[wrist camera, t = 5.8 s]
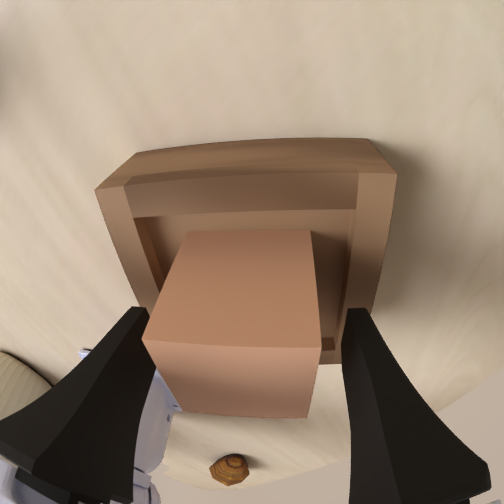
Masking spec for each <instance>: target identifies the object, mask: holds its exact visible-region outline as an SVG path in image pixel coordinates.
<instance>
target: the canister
mask: <svg viewBox="0 0 504 504" xmlns="http://www.w3.org/2000/svg"><path fill="white" fill-rule="evenodd" d="M51 388H52V386H50V384H49V383H48V382H46V380H44V379H43V378H42V377H41V376H40V375H38V374H37V373H36V372H35V371H33V370H32V369H31V368H29V367H28V366H27V365H25V364H23V363H22V362H20V361H19V360H17V359H15V358H14V357H12V356H10V355H8V354H5V353H2V352H0V420H2V419H4V418H6V417H8V416H9V415H11V414H13V413H15V412H17V411H19V410H21V409H22V408H24V407H25V406H27V405H29V404H30V403H32V402H33V401H35V400H36V399H38V398H39V397H40V396H42V395H43V394H44V393H46V392H47V391H48V390H50V389H51ZM0 457H1V458H2V459H4V460H6V461H8V462H9V463H11V464H12V465H14V466H16V467H17V468H18V466H17V465H15V464H13V463H12V462H10V461H9V460H7V459H6V458H4V457H3V456H1V455H0Z"/></svg>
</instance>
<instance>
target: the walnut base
mask: <svg viewBox="0 0 504 504" xmlns="http://www.w3.org/2000/svg"><path fill="white" fill-rule="evenodd" d="M396 181H397V173H396V172H395V170H394V169H393V168H392V167H391V165H390V164H389V163H388V162H387V161H386V160H385V158H384V157H383V156H382V155H381V154H380V153H379V151H378V150H377V149H376V148H375V147H374V146H373V145H372V143H371V142H370V141H369V140H368V139H361V138H283V139H260V140H244V141H230V142H218V143H208V144H198V145H189V146H181V147H173V148H165V149H158V150H151V151H145V152H139V153H136V154H134V155H133V156H132V157H131V158H130V159H128V160H127V161H126V162H125V163H124V164H123V165H121V166H120V167H119V168H118V169H117V170H116V171H115V172H113V173H112V174H111V175H110V176H109V177H108V178H107V179H106V180H105V181H103V182H102V183H101V184H100V185H99V186H98V187H97V188H96V189H95V190H94V191H95V194H96V197H97V200H98V203H99V206H100V209H101V212H102V214H103V217H104V220H105V223H106V226H107V228H108V231H109V234H110V236H111V239H112V242H113V244H114V247H115V249H116V252H117V254H118V257H119V259H120V262H121V264H122V267H123V269H124V271H125V274H126V276H127V278H128V281H129V283H130V285H131V288H132V290H133V292H134V294H135V296H136V299H137V301H138V303H139V305H140V307H146V309H147V311H148V313H149V315H150V316H151V314H152V311H153V309H154V306H155V304H156V302H157V299H158V297H159V294H160V292H161V290H162V287H163V285H164V283H165V280H166V278H167V276H168V273H169V271H170V269H171V266H172V264H173V262H174V260H175V257H176V255H177V253H178V251H179V248H180V246H181V244H182V242H183V240H184V237H185V235H186V233H187V232H194V231H274V230H310V234H311V242H312V250H313V259H314V268H315V277H316V287H317V297H318V308H319V319H320V332H321V345H322V348H321V354H320V359H319V364H318V365H323V364H342V360H341V340H342V335H343V330H344V325H345V320H346V315H347V310H348V308H366V309H367V310H368V312H369V314H371V310H372V306H373V303H374V299H375V294H376V290H377V286H378V282H379V278H380V273H381V268H382V264H383V259H384V254H385V249H386V244H387V239H388V233H389V228H390V222H391V216H392V209H393V203H394V196H395V188H396Z"/></svg>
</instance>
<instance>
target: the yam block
mask: <svg viewBox="0 0 504 504" xmlns="http://www.w3.org/2000/svg"><path fill="white" fill-rule="evenodd" d="M142 341H143V343H144V345H145V347H146V349H147V351H148V352H149V354H150V356H151V358H152V360H153V361H154V363H155V365H156V367H157V369H158V370H159V372H160V374H161V376H162V377H163V379H164V381H165V382H166V384H167V386H168V387H169V389H170V391H171V392H172V394H173V396H174V397H175V399H176V401H177V402H178V404H179V405H180V407H181V409H182V410H183V411H189V412H197V413H205V414H215V415H226V416H240V417H258V418H307V416H308V412H309V407H310V403H311V398H312V394H313V389H314V384H315V379H316V374H317V369H318V364H319V359H320V354H321V348H322V345H321V332H320V319H319V308H318V297H317V287H316V277H315V268H314V259H313V250H312V242H311V234H310V230H274V231H194V232H187V233H186V235H185V237H184V240H183V242H182V244H181V246H180V248H179V251H178V253H177V255H176V257H175V260H174V262H173V264H172V266H171V269H170V271H169V273H168V276H167V278H166V280H165V283H164V285H163V287H162V290H161V292H160V294H159V297H158V299H157V302H156V304H155V306H154V309H153V311H152V314H151V316H150V319H149V321H148V324H147V326H146V329H145V331H144V334H143V336H142Z"/></svg>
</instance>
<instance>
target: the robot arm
mask: <svg viewBox="0 0 504 504" xmlns="http://www.w3.org/2000/svg"><path fill="white" fill-rule="evenodd" d="M149 319H150V315H149V313H148V311H147V309H146V307H133V306H132V307H131V308H130V309H129V310H128V311H127V312H126V313H125V314H124V315H123V316H122V317H121V319H120V320H119V321H118V322H117V323H116V324H115V325H114V326H113V328H112V329H111V330H110V331H109V332H108V333H107V334H106V335H105V336H104V338H103V339H102V340H101V341H100V342H99V343H98V344H97V345H96V346H95V348H94V349H93V350H92V351H87V350H80V351H79V353H78V354H79V356H80V357H81V358H82V359H83V360H82V361H81V362H80V363H79V364H78V365H77V366H76V367H75V368H74V369H73V370H72V371H71V372H70V373H69V374H68V375H66V376H65V377H64V378H63V379H62V380H61V381H60V382H58V383H57V384H56V385H55V386H53V387H52V388H51V389H50V390H48V391H47V392H46V393H44V394H43V395H42V396H40V397H39V398H38V399H36V400H35V401H33V402H32V403H30V404H29V405H27V406H25V407H24V408H22V409H21V410H19V411H17V412H15V413H13V414H11V415H9V416H8V417H6V418H4V419H2V420H0V455H1V456H3V457H4V458H6V459H7V460H9V461H10V462H12V463H13V464H15V465H17V466H18V468H17V467H16V466H14V465H12V464H11V463H9V462H8V461H6V460H4V459H2V458H1V457H0V504H161V501H160V495H159V493H158V491H157V489H156V487H155V485H154V484H153V483H152V482H150V481H151V476H150V475H147V473H149V472H151V471H153V470H155V469H156V468H157V467H158V466H159V464H160V463H161V461H162V459H163V457H164V452H165V448H166V444H167V439H168V435H169V431H170V427H171V422H172V418H173V414H174V411H178V412H182V411H183V410H182V409H181V407H180V405H179V404H178V402H177V401H176V399H175V397H174V396H173V394H172V392H171V391H170V389H169V387H168V386H167V384H166V382H165V381H164V379H163V377H162V376H161V374H160V372H159V370H158V369H157V367H156V365H155V363H154V361H153V360H152V358H151V356H150V354H149V352H148V351H147V349H146V347H145V345H144V343H143V341H142V336H143V334H144V331H145V329H146V326H147V324H148V321H149ZM341 360H342V373H343V379H344V386H345V392H346V399H347V406H348V413H349V420H350V429H351V478H350V494H349V495H350V496H349V504H470V500H469V498H471V497H474V496H476V495H479V494H481V493H483V492H486V491H488V490H490V489H491V479H490V472H489V469H488V465H487V463H486V462H485V461H483V460H482V459H481V458H480V457H478V456H477V455H476V454H475V453H474V452H473V451H472V450H470V449H469V448H468V447H467V446H466V445H465V444H464V443H463V442H462V441H461V440H460V439H459V438H457V436H455V435H454V433H453V432H452V431H451V430H450V429H449V428H448V427H447V426H446V425H445V424H444V423H443V422H442V421H441V420H440V419H439V417H438V416H437V415H436V414H435V413H434V412H433V410H432V409H431V408H430V407H429V406H428V404H427V403H426V402H425V401H424V399H423V398H422V397H421V396H420V394H419V393H418V392H417V390H416V389H415V388H414V386H413V385H412V383H411V382H410V381H409V379H408V378H407V376H406V375H405V373H404V372H403V370H402V369H401V367H400V366H399V364H398V363H397V361H396V359H395V358H394V356H393V355H392V353H391V351H390V350H389V348H388V346H387V345H386V343H385V341H384V340H383V338H382V336H381V334H380V333H379V331H378V329H377V327H376V325H375V323H374V322H373V320H372V318H371V316H370V314H369V312H368V310H367V309H366V308H348V310H347V315H346V320H345V325H344V330H343V335H342V340H341ZM488 504H501V500H496V501H493V502H491V503H488Z"/></svg>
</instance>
